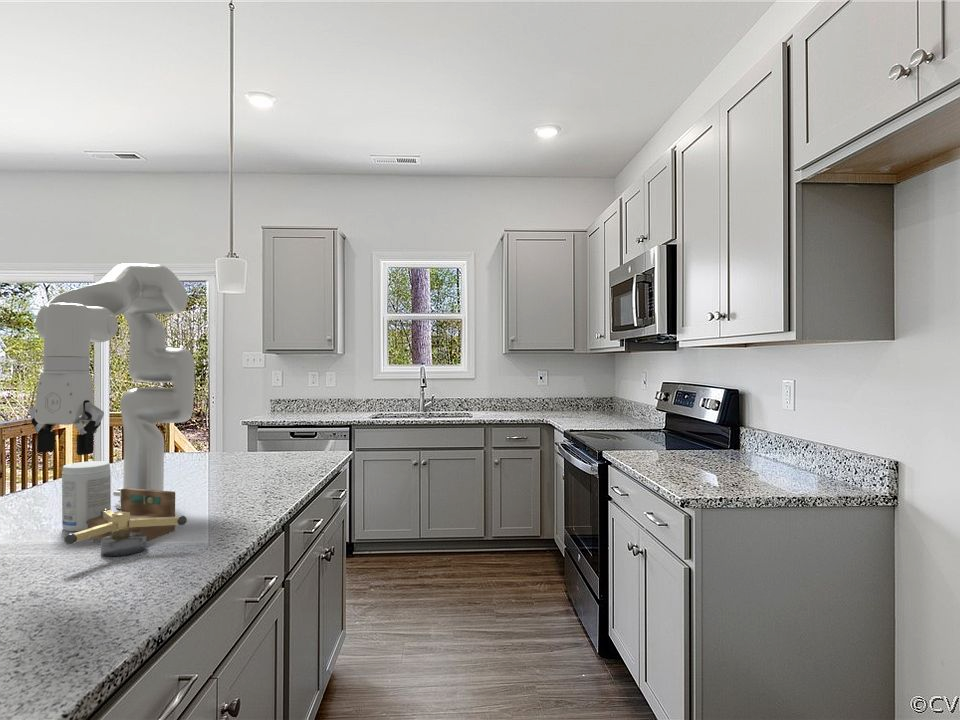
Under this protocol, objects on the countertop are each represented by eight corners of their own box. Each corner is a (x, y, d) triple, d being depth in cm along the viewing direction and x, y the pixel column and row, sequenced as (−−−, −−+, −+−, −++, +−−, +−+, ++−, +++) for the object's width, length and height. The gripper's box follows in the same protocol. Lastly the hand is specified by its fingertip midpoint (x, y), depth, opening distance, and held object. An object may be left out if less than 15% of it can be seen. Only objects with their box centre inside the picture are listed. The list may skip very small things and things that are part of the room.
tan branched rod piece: (19, 563, 115) (20, 525, 115) (105, 536, 134) (106, 502, 134) (112, 575, 110) (113, 534, 110) (188, 544, 128) (189, 510, 128)
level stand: (87, 537, 133) (88, 496, 133) (124, 526, 142) (125, 487, 142) (139, 543, 129) (140, 501, 129) (174, 531, 139) (175, 491, 139)
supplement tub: (112, 519, 148) (113, 459, 148) (108, 529, 139) (109, 465, 139) (65, 524, 144) (66, 462, 144) (57, 534, 135) (58, 468, 135)
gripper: (13, 365, 118) (12, 453, 118) (85, 366, 114) (83, 458, 113) (50, 365, 125) (48, 448, 125) (118, 366, 121) (116, 452, 121)
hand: (65, 453), depth 119 cm, fingers open, 9 cm apart
